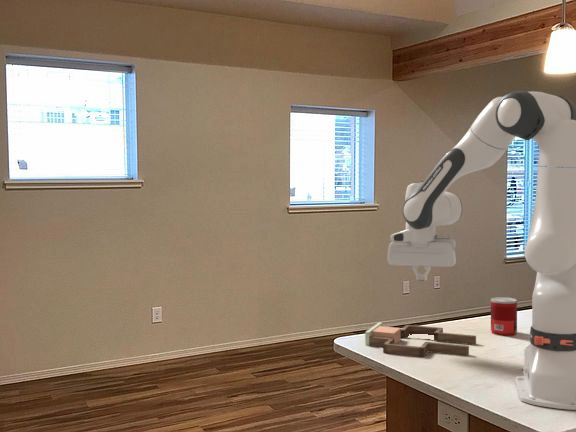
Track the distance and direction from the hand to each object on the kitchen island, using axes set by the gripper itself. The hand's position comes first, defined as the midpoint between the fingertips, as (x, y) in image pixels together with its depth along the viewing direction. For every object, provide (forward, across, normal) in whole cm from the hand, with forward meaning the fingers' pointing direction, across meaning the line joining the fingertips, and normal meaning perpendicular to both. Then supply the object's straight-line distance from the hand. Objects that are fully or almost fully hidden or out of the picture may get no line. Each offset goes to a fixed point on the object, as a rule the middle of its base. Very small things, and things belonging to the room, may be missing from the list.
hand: (421, 280), depth 189 cm
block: (+20, +11, 0) cm, 23 cm away
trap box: (+20, +1, 0) cm, 20 cm away
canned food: (+20, -21, -23) cm, 37 cm away
